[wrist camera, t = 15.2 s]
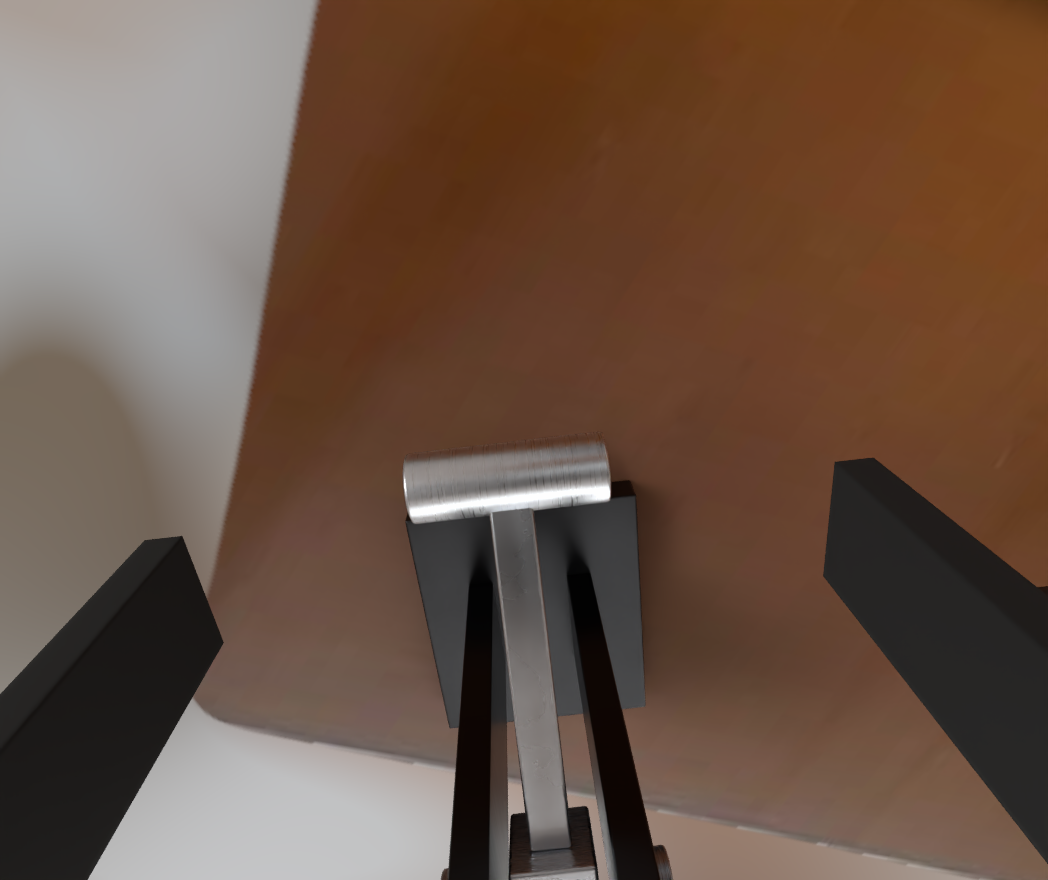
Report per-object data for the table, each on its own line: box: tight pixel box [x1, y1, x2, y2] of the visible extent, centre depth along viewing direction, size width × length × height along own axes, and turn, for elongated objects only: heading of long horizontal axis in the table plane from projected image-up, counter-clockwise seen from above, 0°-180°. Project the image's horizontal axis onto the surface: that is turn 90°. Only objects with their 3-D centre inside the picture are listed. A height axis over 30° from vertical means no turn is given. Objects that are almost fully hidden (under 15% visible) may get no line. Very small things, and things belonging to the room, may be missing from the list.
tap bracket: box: [405, 480, 673, 880], centre depth 21 cm, size 11×9×14 cm
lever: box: [403, 432, 611, 880], centre depth 16 cm, size 13×5×2 cm, turn 6°
